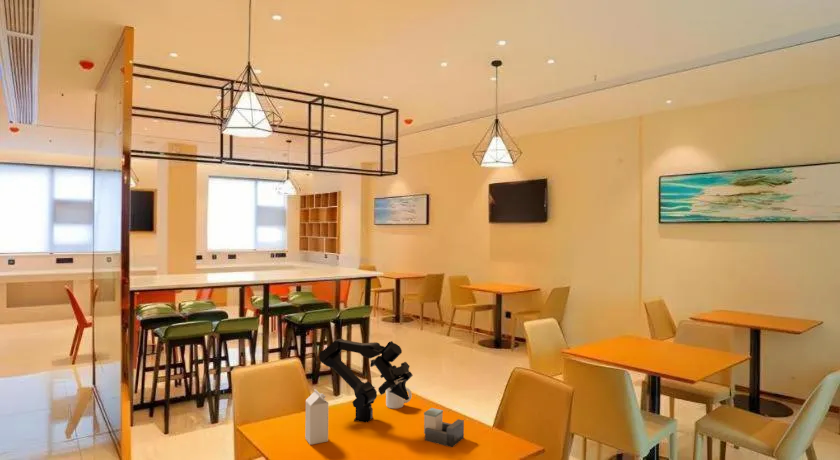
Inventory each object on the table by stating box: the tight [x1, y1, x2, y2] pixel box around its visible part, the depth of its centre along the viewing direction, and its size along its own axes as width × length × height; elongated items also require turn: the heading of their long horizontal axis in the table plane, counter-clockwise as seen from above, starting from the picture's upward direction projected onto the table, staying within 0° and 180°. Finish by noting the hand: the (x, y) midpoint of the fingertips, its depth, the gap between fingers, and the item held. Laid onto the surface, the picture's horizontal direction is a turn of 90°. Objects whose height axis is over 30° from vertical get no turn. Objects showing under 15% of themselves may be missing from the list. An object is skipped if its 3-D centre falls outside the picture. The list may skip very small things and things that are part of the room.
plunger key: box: [423, 407, 444, 435], centre depth 199 cm, size 5×6×8 cm
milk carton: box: [304, 388, 329, 446], centre depth 194 cm, size 7×7×19 cm
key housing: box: [424, 418, 465, 448], centre depth 196 cm, size 12×10×7 cm
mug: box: [385, 386, 413, 410], centre depth 233 cm, size 12×8×10 cm
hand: (407, 399), depth 205 cm, fingers closed
